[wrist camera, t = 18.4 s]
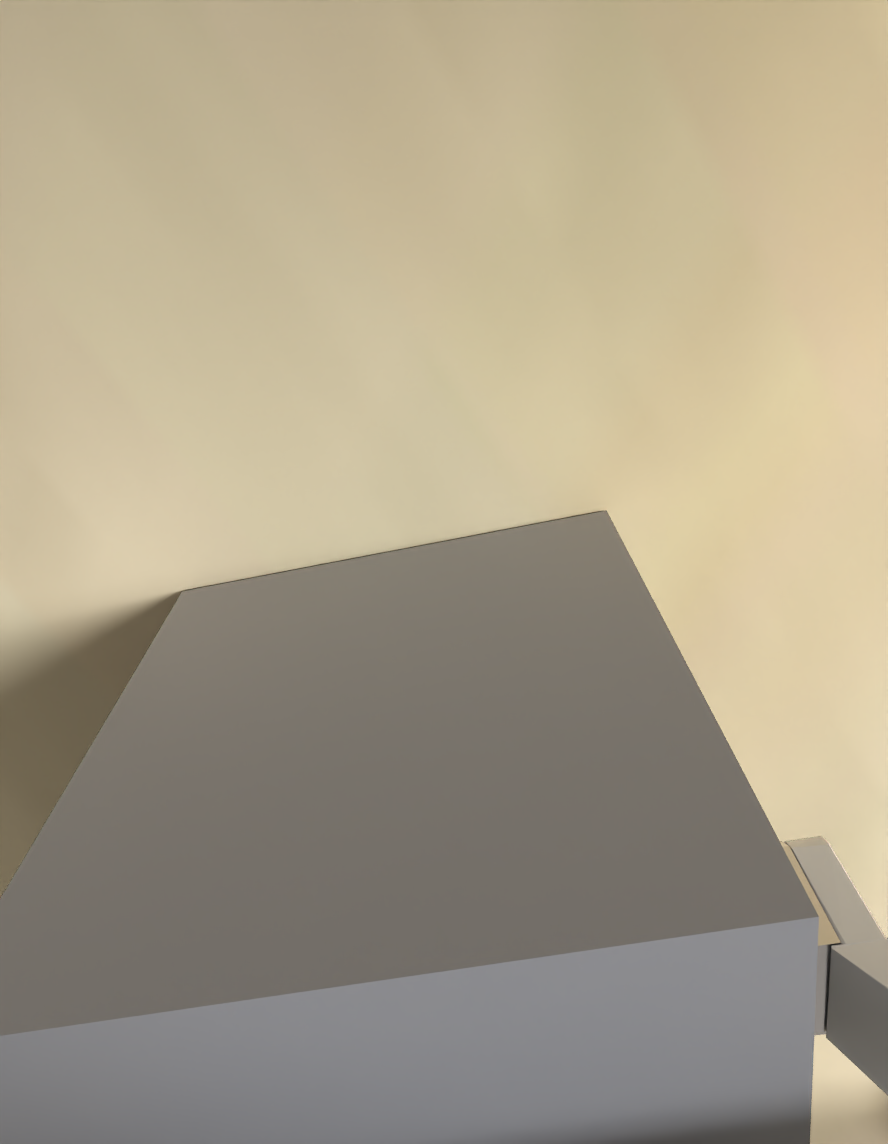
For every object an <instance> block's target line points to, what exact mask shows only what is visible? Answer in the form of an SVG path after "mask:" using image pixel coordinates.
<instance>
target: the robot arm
mask: <svg viewBox="0 0 888 1144" xmlns="http://www.w3.org/2000/svg"><path fill="white" fill-rule="evenodd" d="M780 843H781V845H782V847H783V849H784V851H785V853H786V855H787V857H788V858H789V860H790V862H791V864H792V866H793V868H794V870H795V872H796V874H797V876H798V878H799V879H800V881H801V883H802V885H803V887H804V889H805V891H806V893H807V895H808V897H809V899H810V900H811V902H812V904H813V906H814V908H815V910H816V912H817V914H818V916H819V929H818V953H817V977H816V1002H815V1026H814V1035H821V1034H826V1038H827V1039H828V1040H829V1041H830V1042H831V1043H833V1044H834V1045H835V1046H836V1047H837V1048H838V1049H839V1050H840V1051H841V1052H842V1053H843V1054H844V1055H845V1056H846V1057H847V1058H849V1059H850V1060H851V1061H852V1062H853V1063H854V1064H855V1065H856V1066H857V1067H858V1068H859V1069H860V1070H861V1071H862V1072H863V1073H864V1074H866V1075H867V1076H868V1077H869V1078H870V1079H871V1080H872V1081H873V1082H874V1083H875V1084H876V1085H877V1086H878V1087H879V1088H880V1089H882V1090H883V1091H884V1092H885V1093H886V1094H887V1095H888V938H886V937H885V935H884V934H883V932H882V930H881V929H880V927H879V925H878V924H877V922H876V920H875V919H874V917H873V915H872V914H871V912H870V910H869V909H868V907H867V905H866V904H865V902H864V900H863V899H862V897H861V895H860V894H859V892H858V890H857V889H856V887H855V885H854V884H853V882H852V880H851V879H850V877H849V875H848V874H847V872H846V870H845V869H844V867H843V865H842V864H841V862H840V860H839V859H838V857H837V855H836V854H835V852H834V850H833V849H832V847H831V845H830V844H829V842H828V841H827V840H826V839H824V838H823V837H822V836H817V837H810V838H804V839H797V840H791V841H785V842H782V841H780Z"/></svg>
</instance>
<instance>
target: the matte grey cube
mask: <svg viewBox="0 0 888 1144" xmlns="http://www.w3.org/2000/svg"><path fill="white" fill-rule="evenodd" d="M818 929H819V916H818V914H817V912H816V910H815V908H814V906H813V904H812V902H811V900H810V899H809V897H808V895H807V893H806V891H805V889H804V887H803V885H802V883H801V881H800V879H799V878H798V876H797V874H796V872H795V870H794V868H793V866H792V864H791V862H790V860H789V858H788V857H787V855H786V853H785V851H784V849H783V847H782V845H781V843H780V841H779V839H778V837H777V836H776V834H775V832H774V830H773V828H772V826H771V824H770V822H769V820H768V818H767V816H766V815H765V813H764V811H763V809H762V807H761V805H760V803H759V801H758V799H757V797H756V795H755V793H754V792H753V790H752V788H751V786H750V784H749V782H748V780H747V778H746V776H745V774H744V772H743V771H742V769H741V767H740V765H739V763H738V761H737V759H736V757H735V755H734V753H733V751H732V750H731V748H730V746H729V744H728V742H727V740H726V738H725V736H724V734H723V732H722V730H721V729H720V727H719V725H718V723H717V721H716V719H715V717H714V715H713V713H712V711H711V709H710V707H709V706H708V704H707V702H706V700H705V698H704V696H703V694H702V692H701V690H700V688H699V686H698V685H697V683H696V681H695V679H694V677H693V675H692V673H691V671H690V669H689V667H688V665H687V664H686V662H685V660H684V658H683V656H682V654H681V652H680V650H679V648H678V646H677V644H676V643H675V641H674V639H673V637H672V635H671V633H670V631H669V629H668V627H667V625H666V623H665V622H664V620H663V618H662V616H661V614H660V612H659V610H658V608H657V606H656V604H655V602H654V600H653V599H652V597H651V595H650V593H649V591H648V589H647V587H646V585H645V583H644V581H643V579H642V578H641V576H640V574H639V572H638V570H637V568H636V566H635V564H634V562H633V560H632V558H631V557H630V555H629V553H628V551H627V549H626V547H625V545H624V543H623V541H622V539H621V537H620V536H619V534H618V532H617V530H616V528H615V526H614V524H613V522H612V520H611V518H610V516H609V515H608V513H607V511H602V512H596V513H591V514H586V515H581V516H575V517H570V518H565V519H560V520H554V521H549V522H544V523H539V524H533V525H528V526H523V527H518V528H512V529H507V530H502V531H497V532H491V533H486V534H481V535H476V536H470V537H465V538H460V539H455V540H449V541H444V542H439V543H434V544H428V545H423V546H418V547H413V548H407V549H402V550H397V551H392V552H386V553H381V554H376V555H371V556H365V557H360V558H355V559H350V560H344V561H339V562H334V563H329V564H323V565H318V566H313V567H308V568H302V569H297V570H292V571H287V572H281V573H276V574H271V575H266V576H260V577H255V578H250V579H245V580H239V581H234V582H229V583H223V584H218V585H213V586H208V587H202V588H197V589H192V590H187V591H182V592H181V594H180V596H179V597H178V599H177V601H176V602H175V604H174V606H173V608H172V609H171V611H170V613H169V614H168V616H167V618H166V619H165V621H164V623H163V624H162V626H161V628H160V630H159V631H158V633H157V635H156V636H155V638H154V640H153V641H152V643H151V645H150V646H149V648H148V650H147V651H146V653H145V655H144V657H143V658H142V660H141V662H140V663H139V665H138V667H137V668H136V670H135V672H134V673H133V675H132V677H131V679H130V680H129V682H128V684H127V685H126V687H125V689H124V690H123V692H122V694H121V695H120V697H119V699H118V700H117V702H116V704H115V706H114V707H113V709H112V711H111V712H110V714H109V716H108V717H107V719H106V721H105V722H104V724H103V726H102V727H101V729H100V731H99V733H98V734H97V736H96V738H95V739H94V741H93V743H92V744H91V746H90V748H89V749H88V751H87V753H86V755H85V756H84V758H83V760H82V761H81V763H80V765H79V766H78V768H77V770H76V771H75V773H74V775H73V776H72V778H71V780H70V782H69V783H68V785H67V787H66V788H65V790H64V792H63V793H62V795H61V797H60V798H59V800H58V802H57V804H56V805H55V807H54V809H53V810H52V812H51V814H50V815H49V817H48V819H47V820H46V822H45V824H44V825H43V827H42V829H41V831H40V832H39V834H38V836H37V837H36V839H35V841H34V842H33V844H32V846H31V847H30V849H29V851H28V852H27V854H26V856H25V858H24V859H23V861H22V863H21V864H20V866H19V868H18V869H17V871H16V873H15V874H14V876H13V878H12V880H11V881H10V883H9V885H8V886H7V888H6V890H5V891H4V893H3V895H2V896H1V898H0V1144H810V1124H811V1099H812V1075H813V1050H814V1026H815V1002H816V977H817V953H818Z"/></svg>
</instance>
